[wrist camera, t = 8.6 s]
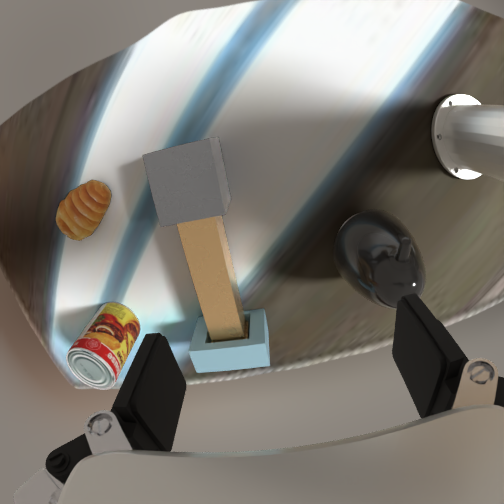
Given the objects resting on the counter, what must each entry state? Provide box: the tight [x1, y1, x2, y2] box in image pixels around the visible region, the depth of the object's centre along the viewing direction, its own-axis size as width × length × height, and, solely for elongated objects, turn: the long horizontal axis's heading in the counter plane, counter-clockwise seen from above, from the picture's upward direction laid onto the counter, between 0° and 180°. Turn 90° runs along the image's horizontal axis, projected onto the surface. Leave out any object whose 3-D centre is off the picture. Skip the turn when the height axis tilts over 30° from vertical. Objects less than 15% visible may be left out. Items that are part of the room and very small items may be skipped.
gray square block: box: [143, 137, 231, 227], centre depth 33 cm, size 7×8×7 cm
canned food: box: [66, 302, 140, 390], centre depth 40 cm, size 8×8×12 cm
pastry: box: [56, 180, 111, 241], centre depth 36 cm, size 9×7×4 cm
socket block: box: [188, 308, 270, 373], centre depth 41 cm, size 10×4×8 cm, turn 100°
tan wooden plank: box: [177, 215, 249, 343], centre depth 38 cm, size 5×20×5 cm, turn 10°
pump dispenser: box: [333, 209, 426, 309], centre depth 32 cm, size 10×10×15 cm
